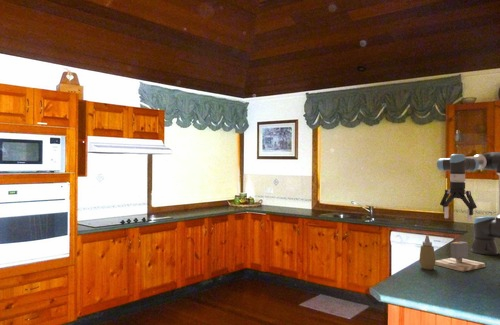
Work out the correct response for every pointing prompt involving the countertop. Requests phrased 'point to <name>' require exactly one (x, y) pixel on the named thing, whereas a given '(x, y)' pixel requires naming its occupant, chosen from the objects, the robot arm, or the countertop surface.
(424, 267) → the squeeze bottle
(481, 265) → the base
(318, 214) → the countertop surface
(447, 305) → the countertop surface
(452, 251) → the grey block
